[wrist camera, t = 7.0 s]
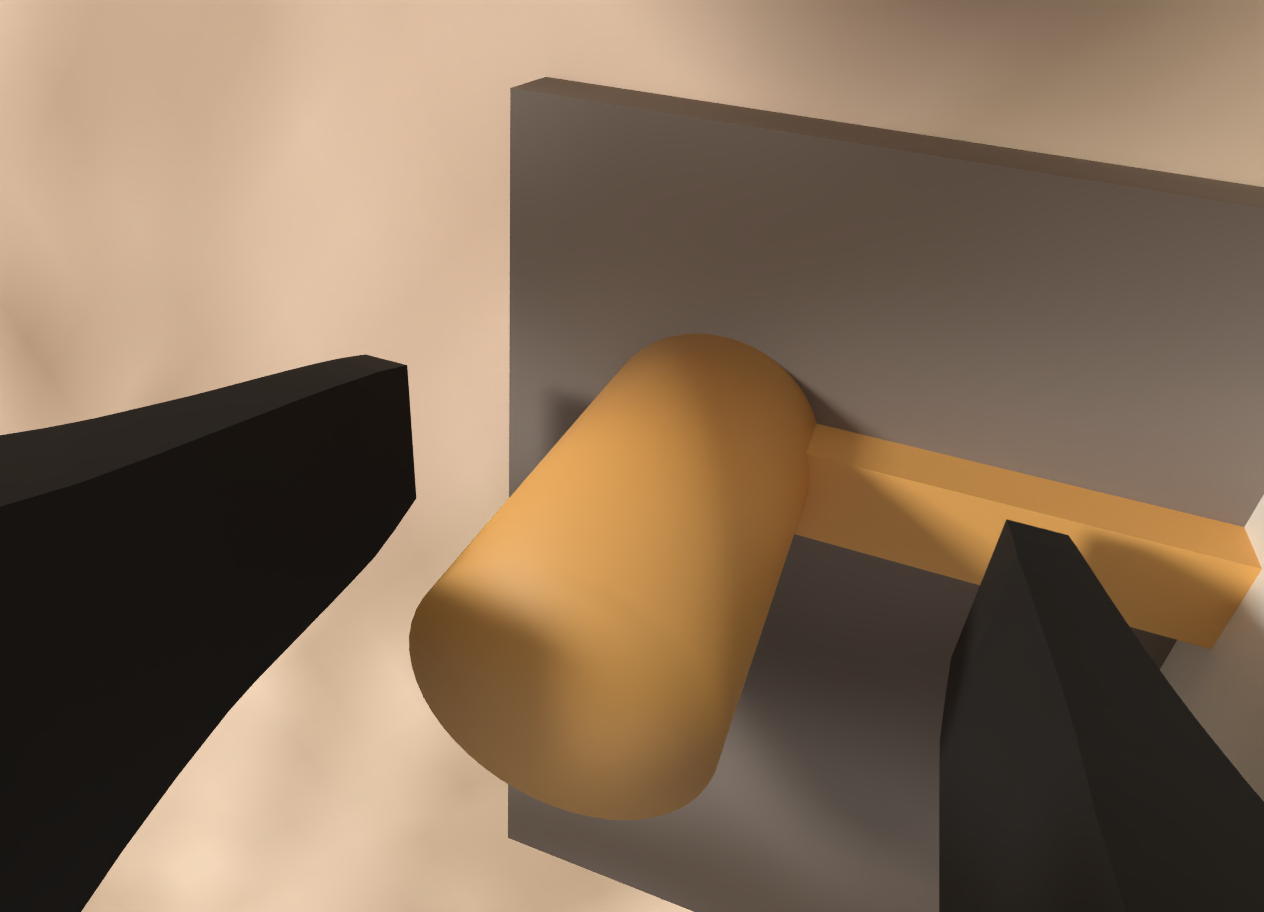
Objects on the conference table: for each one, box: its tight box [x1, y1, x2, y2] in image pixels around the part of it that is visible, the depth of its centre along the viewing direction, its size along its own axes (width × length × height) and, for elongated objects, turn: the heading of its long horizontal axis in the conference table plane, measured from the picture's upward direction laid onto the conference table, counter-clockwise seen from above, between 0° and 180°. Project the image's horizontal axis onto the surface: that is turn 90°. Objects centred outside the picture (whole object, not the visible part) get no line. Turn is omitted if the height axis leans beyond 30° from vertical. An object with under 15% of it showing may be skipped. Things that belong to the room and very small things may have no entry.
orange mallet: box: [409, 334, 1264, 820], centre depth 8 cm, size 5×13×5 cm, turn 85°
